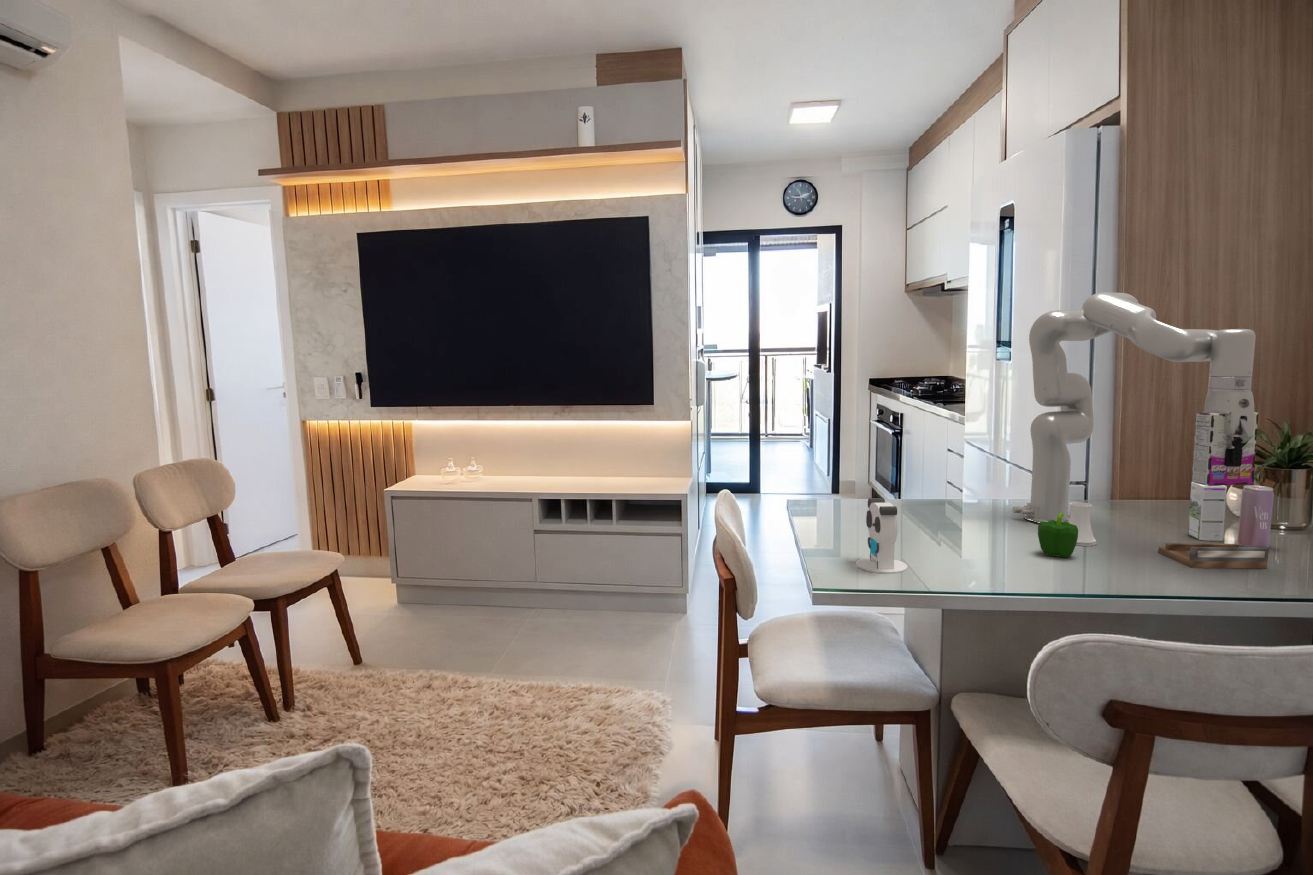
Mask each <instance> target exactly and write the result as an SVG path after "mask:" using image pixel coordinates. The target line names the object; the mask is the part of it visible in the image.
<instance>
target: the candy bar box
mask: <svg viewBox="0 0 1313 875" xmlns="http://www.w3.org/2000/svg"><path fill="white" fill-rule="evenodd" d="M1258 422H1259V412H1255V411H1254V431H1253V435H1254V436H1253V437H1252V438H1251V439H1250V440H1249V441H1248V443H1247V444H1246V445H1245V448H1244V449H1243V451H1242V462H1241V466H1240V467H1228V466H1225V465H1224V464H1225V452H1226V449H1229V448H1228V442H1227V435H1225V414H1223V413H1215V412H1204V411H1202V412H1196V413H1195V426H1194V440H1193V443H1194V445H1193V456H1192V469H1191V470H1192V471H1191V483H1192V482H1194V483H1198V484H1202V485H1208V486H1216V485H1224V486H1238V485H1242V486H1244V485H1252V484H1254V473H1255V462H1256V460H1255V459H1256V445H1257V435H1258ZM1237 433H1238V432H1235V433H1234V434H1237ZM1233 439H1234V441H1235V440H1236V439H1237V438H1233Z"/></svg>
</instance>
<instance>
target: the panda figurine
mask: <svg viewBox="0 0 1313 875" xmlns="http://www.w3.org/2000/svg"><path fill="white" fill-rule="evenodd" d="M867 507H868V508H867V509H868V510H867V511H866V517H865V518H866V520H865V523H866V524H865V525H866V527H867V529H868V534H869V537H867V545H868V548H869V557H864V558H860V559H858V560H857V561H856V562H855V563H856V564H855V565H856V566H857V567H858V569H861V570H862V571H866V572H869V573H870V572H871V573H876V574H884V575H885V574H886V575H887V574H888V575H890V574H900V573H904V572H906V571H907V570H908V567H909V566H908V565H907V563H905V562H903V561H901V560H898V559H895V544H896V541H897V537H898V507H897V506H895V505H893V504H892V503H891V502H886V499H885V498H884V497H877V498H876V497H871V498H870V497H869V498H868V499H867Z"/></svg>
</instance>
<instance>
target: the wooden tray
mask: <svg viewBox="0 0 1313 875" xmlns="http://www.w3.org/2000/svg"><path fill="white" fill-rule="evenodd" d="M1157 549H1158V551H1157V553H1159V554H1161V555H1163V556H1165V557H1167V558H1170V559H1172V560H1174V561H1176V562H1178V563H1181V564H1183V565H1186V566H1187V567H1190V568H1195V569H1196V568H1199V569H1200V568H1201V569H1202V568H1206V569H1208V568H1209V569H1210V568H1211V569H1212V568H1216V569H1224V568H1225V569H1236V568H1237V569H1267V568H1268V563H1269V562H1268V561H1269V552H1270V551H1269V550H1270V548H1269V547H1268V548H1262V547H1242V546H1240V545H1239V544H1238V543H1202V542H1201V543H1197V542H1196V543H1195V542H1194V543H1193V542H1192V543H1191V542H1190V543H1189V542H1188V543H1187V542H1186V543H1184V542H1182V543H1181V542H1178V543H1177V542H1176V543H1174V542H1173V543H1172V542H1170V543H1169V542H1167V543H1165V546H1164V545H1163V546H1160V545H1159V546H1158V548H1157Z"/></svg>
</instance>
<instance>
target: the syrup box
mask: <svg viewBox="0 0 1313 875" xmlns="http://www.w3.org/2000/svg"><path fill="white" fill-rule="evenodd" d="M1227 490H1228V485H1216V486H1208V485H1202V484H1198V483H1194V482H1192V481H1191V485H1190V498H1189V512H1188V513H1189V514H1188V525H1187V526H1188V529H1187V535H1188V536H1191V537H1192V538H1195V539H1196V540H1199V541H1209V542H1210V541H1211V542H1223V541H1224V531H1225V520H1226V519H1225V518H1226V504H1227V503H1226V502H1227Z"/></svg>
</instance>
